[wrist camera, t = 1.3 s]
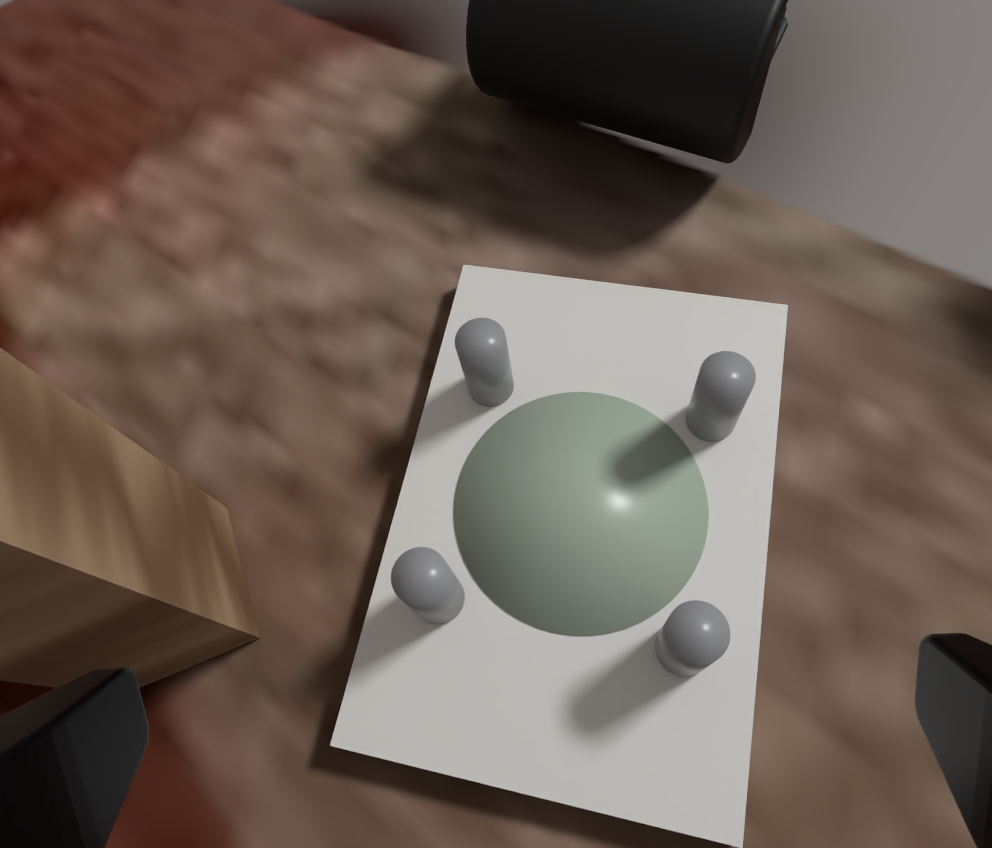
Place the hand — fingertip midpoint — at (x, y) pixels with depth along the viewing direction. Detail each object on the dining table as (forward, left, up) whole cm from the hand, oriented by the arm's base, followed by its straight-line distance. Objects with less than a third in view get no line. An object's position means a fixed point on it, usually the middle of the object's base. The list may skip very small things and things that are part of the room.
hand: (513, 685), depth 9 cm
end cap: (+23, +1, -14) cm, 27 cm away
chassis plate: (+6, 0, -14) cm, 15 cm away
